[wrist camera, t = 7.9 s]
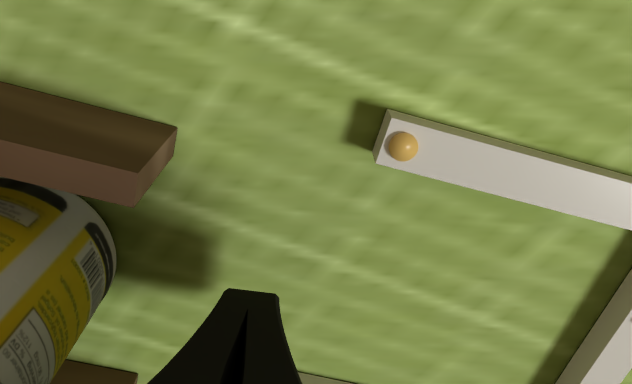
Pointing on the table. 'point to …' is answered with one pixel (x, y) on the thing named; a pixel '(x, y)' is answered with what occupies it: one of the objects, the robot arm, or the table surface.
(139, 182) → the holder
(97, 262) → the supplement bottle
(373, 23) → the table surface
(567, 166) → the dock
